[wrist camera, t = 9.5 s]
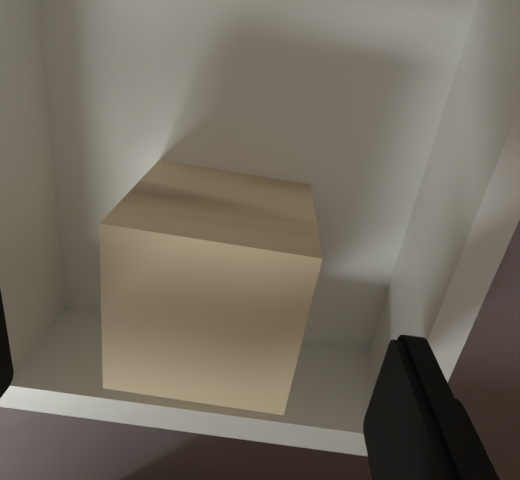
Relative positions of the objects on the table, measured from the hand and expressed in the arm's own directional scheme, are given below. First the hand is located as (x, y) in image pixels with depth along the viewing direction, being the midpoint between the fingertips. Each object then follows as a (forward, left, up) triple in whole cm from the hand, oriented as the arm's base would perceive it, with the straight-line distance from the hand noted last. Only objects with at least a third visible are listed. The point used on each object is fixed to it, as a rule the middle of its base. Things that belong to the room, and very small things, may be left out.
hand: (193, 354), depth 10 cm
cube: (0, 0, -6) cm, 6 cm away
